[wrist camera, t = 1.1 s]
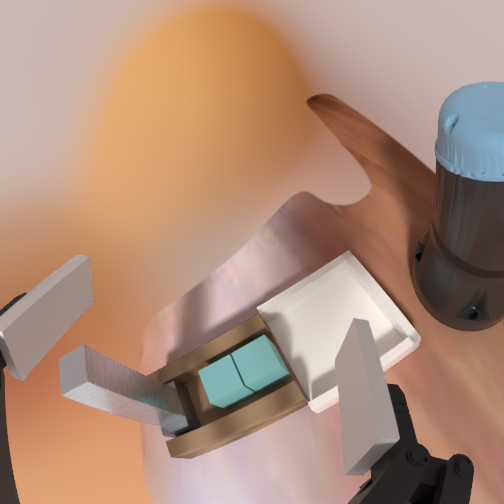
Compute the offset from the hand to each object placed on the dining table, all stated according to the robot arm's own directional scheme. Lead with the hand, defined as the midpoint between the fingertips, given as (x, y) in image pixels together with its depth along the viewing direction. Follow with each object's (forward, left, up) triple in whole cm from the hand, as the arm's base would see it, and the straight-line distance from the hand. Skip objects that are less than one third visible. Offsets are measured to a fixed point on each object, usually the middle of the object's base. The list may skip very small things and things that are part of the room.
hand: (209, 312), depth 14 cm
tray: (-6, -5, -22) cm, 24 cm away
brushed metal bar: (+14, -5, -21) cm, 26 cm away
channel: (+8, -5, -22) cm, 24 cm away
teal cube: (+2, -5, -21) cm, 21 cm away
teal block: (+7, -5, -21) cm, 22 cm away
